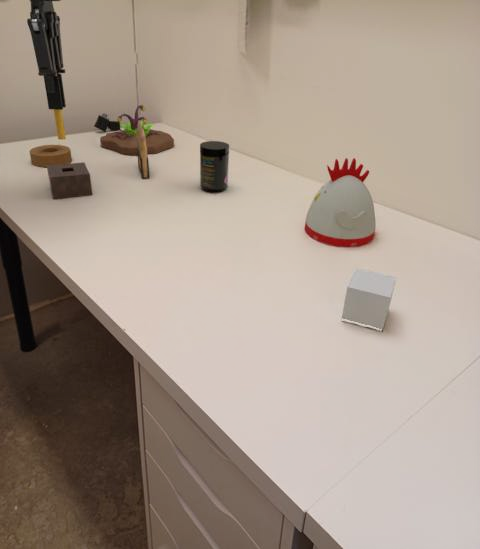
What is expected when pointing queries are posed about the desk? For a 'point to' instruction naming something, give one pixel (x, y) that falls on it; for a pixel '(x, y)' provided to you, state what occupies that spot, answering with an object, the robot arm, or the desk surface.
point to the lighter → (106, 123)
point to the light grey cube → (368, 298)
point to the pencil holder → (69, 180)
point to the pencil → (59, 123)
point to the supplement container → (214, 166)
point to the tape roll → (50, 155)
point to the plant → (128, 138)
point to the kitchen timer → (342, 209)
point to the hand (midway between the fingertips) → (57, 107)
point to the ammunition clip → (142, 152)
